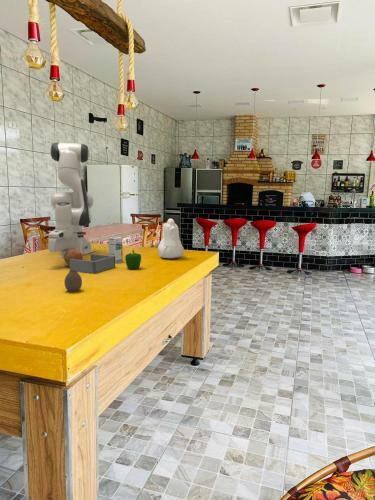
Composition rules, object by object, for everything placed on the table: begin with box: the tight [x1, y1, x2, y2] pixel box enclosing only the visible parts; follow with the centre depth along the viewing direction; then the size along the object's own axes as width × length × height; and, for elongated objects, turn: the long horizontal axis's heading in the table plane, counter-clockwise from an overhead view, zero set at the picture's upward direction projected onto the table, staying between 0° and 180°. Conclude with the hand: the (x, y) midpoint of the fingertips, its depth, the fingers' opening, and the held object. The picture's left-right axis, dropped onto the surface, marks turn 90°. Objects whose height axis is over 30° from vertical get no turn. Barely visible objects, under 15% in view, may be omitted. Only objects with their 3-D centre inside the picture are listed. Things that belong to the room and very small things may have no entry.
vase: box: [64, 269, 83, 293], centre depth 158 cm, size 7×7×9 cm
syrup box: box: [107, 236, 124, 264], centre depth 222 cm, size 6×6×14 cm
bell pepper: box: [124, 249, 142, 270], centre depth 205 cm, size 8×8×10 cm
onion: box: [63, 248, 84, 267], centre depth 207 cm, size 10×10×10 cm
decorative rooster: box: [157, 218, 185, 259], centre depth 241 cm, size 25×16×25 cm, turn 5°
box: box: [69, 253, 116, 275], centre depth 202 cm, size 18×15×6 cm
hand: (64, 258), depth 209 cm, fingers closed, pressing on onion
